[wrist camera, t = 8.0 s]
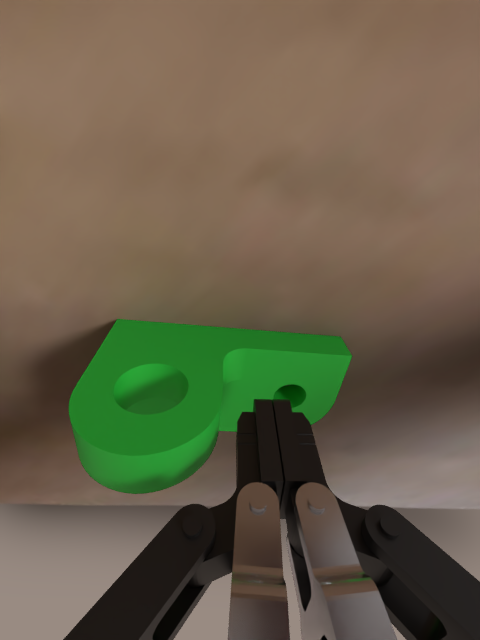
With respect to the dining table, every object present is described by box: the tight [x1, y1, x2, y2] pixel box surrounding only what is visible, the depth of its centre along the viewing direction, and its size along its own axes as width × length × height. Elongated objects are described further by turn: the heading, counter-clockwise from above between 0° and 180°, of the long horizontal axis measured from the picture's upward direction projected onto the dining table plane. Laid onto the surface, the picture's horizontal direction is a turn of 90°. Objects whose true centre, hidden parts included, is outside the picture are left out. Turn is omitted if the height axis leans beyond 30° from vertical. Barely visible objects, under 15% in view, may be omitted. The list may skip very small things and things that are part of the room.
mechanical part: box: [69, 319, 352, 494], centre depth 14 cm, size 12×6×8 cm, turn 83°
